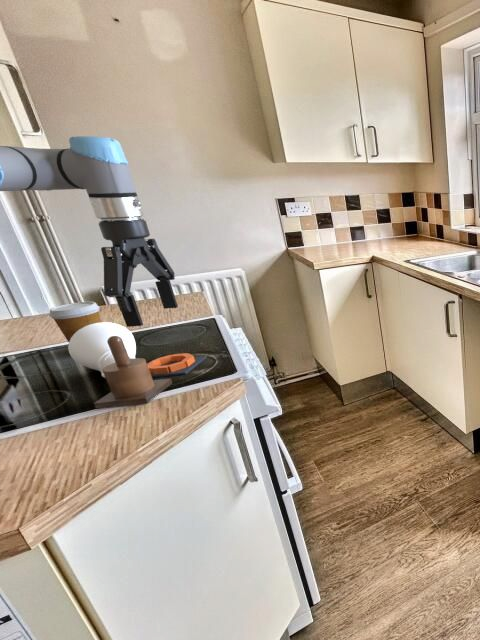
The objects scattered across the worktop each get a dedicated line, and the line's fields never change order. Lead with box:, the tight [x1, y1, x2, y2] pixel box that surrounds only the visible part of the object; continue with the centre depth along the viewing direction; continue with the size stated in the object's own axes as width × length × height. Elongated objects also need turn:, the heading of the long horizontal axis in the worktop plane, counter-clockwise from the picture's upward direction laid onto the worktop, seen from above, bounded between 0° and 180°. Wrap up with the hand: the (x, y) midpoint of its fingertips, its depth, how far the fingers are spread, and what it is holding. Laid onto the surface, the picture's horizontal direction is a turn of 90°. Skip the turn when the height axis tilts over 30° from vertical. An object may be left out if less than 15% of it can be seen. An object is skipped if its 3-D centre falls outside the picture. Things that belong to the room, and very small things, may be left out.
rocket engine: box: [67, 321, 137, 379], centre depth 95 cm, size 12×12×18 cm
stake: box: [93, 336, 173, 410], centre depth 85 cm, size 9×9×13 cm
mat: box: [150, 355, 208, 379], centre depth 100 cm, size 10×10×1 cm
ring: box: [147, 352, 195, 374], centre depth 99 cm, size 9×9×1 cm
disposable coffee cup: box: [48, 301, 102, 343], centre depth 111 cm, size 10×10×12 cm
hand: (154, 316), depth 95 cm, fingers open, 13 cm apart
